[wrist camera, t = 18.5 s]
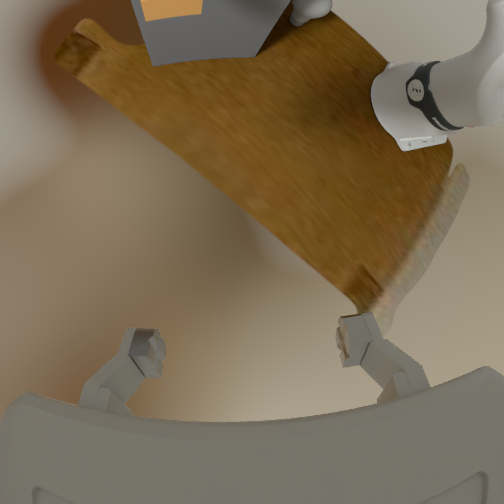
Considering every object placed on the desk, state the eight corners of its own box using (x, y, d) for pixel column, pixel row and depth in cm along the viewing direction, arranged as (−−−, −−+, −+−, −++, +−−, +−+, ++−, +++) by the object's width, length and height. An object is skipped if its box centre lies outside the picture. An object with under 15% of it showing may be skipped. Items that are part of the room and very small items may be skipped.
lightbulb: (295, 6, 34) (319, -24, 24) (317, 29, 36) (346, 2, 26) (270, 17, 34) (291, -16, 24) (293, 40, 36) (320, 11, 26)
